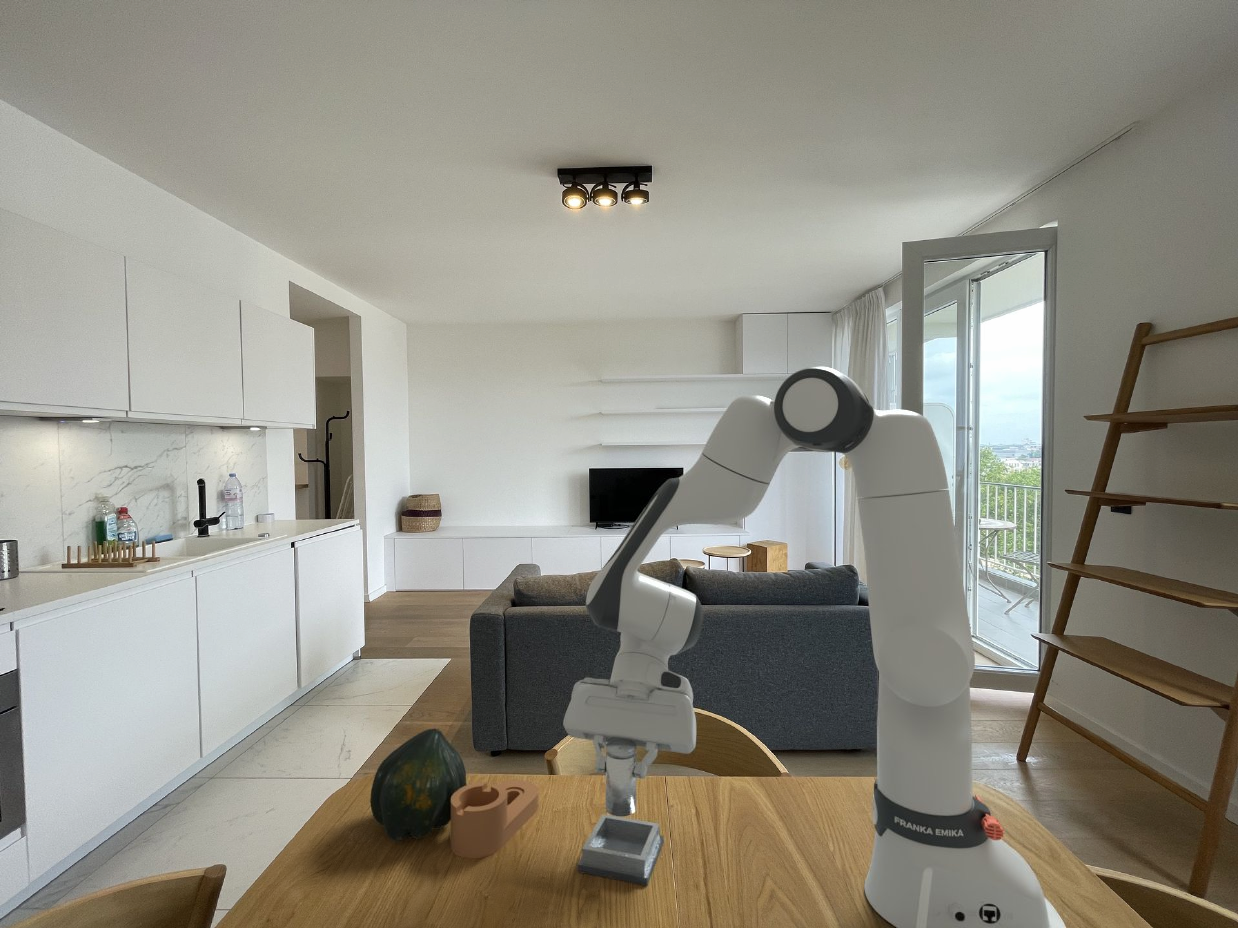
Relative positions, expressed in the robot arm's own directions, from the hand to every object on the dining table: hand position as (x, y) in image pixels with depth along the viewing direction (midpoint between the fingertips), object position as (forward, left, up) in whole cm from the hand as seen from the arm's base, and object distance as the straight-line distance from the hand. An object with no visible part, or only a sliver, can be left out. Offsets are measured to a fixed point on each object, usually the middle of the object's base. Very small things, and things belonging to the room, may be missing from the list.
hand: (619, 773), depth 89 cm
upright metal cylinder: (0, -1, -5) cm, 5 cm away
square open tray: (0, -1, -12) cm, 12 cm away
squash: (+33, +1, -12) cm, 35 cm away
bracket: (+21, -3, -13) cm, 25 cm away
